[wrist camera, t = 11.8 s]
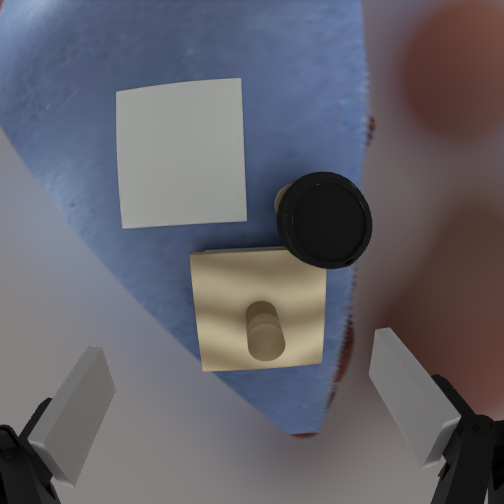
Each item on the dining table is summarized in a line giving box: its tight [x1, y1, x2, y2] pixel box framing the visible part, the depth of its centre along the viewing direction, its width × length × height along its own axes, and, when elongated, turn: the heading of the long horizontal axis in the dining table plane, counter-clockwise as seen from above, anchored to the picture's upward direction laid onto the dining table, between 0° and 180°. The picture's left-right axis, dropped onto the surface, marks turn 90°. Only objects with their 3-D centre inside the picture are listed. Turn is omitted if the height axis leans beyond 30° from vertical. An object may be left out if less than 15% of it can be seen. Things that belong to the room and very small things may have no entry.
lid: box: [189, 248, 326, 371], centre depth 34 cm, size 15×15×8 cm
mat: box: [116, 78, 247, 229], centre depth 37 cm, size 18×16×1 cm
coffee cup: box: [274, 172, 372, 269], centre depth 33 cm, size 8×8×15 cm
